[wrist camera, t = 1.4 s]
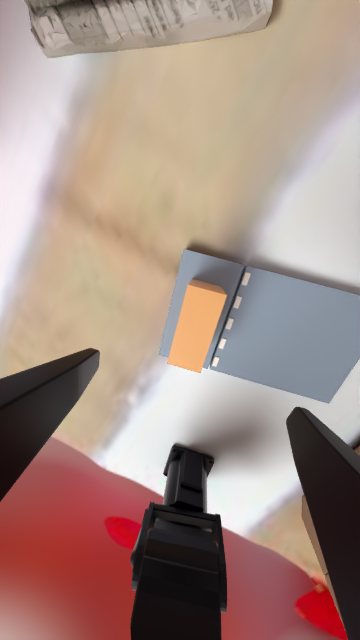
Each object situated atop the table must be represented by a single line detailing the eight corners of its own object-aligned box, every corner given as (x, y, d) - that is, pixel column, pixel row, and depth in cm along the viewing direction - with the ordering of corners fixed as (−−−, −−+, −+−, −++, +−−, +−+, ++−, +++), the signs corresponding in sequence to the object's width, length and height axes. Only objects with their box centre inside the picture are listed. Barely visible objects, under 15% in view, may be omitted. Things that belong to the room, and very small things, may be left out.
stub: (207, 364, 22) (208, 400, 16) (160, 350, 22) (145, 381, 16) (242, 264, 18) (260, 265, 12) (184, 249, 18) (175, 243, 12)
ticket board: (323, 397, 21) (329, 404, 20) (209, 364, 22) (210, 369, 21) (385, 302, 17) (397, 304, 16) (245, 265, 18) (247, 265, 17)
